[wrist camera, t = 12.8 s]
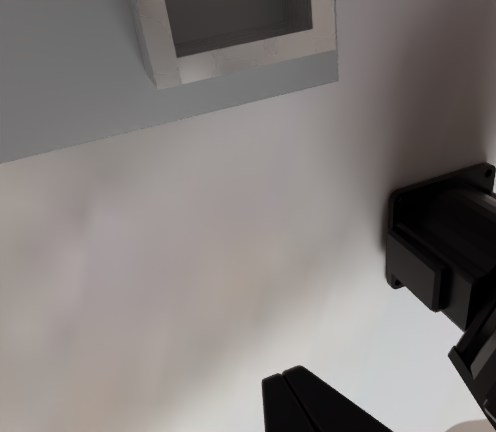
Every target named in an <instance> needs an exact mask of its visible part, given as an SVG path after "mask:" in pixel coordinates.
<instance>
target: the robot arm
mask: <svg viewBox="0 0 496 432" xmlns="http://www.w3.org/2000/svg"><path fill="white" fill-rule="evenodd" d="M495 173H496V168H495V166H493V165H491V164H489V163H487V162H486V163H481V164H478V165H475V166H472V167H468V168H465V169H462V170H459V171H456V172H452V173H449V174H446V175H443V176H440V177H436V178H433V179H430V180H427V181H423V182H420V183H417V184H414V185H411V186H407V187H404V188H401V189H398V190H396V191H394V192H393V193H392V194H391V196H390V198H389V221H388V233H387V264H386V267H387V283H388V284H389V285H390V286H391V287H392V288H393V289H399V288H401V287H404V286H406V287H407V288H408V289H409V290H410V291H411V292H412V293H413V294H414V295H415V296H416V297H417V298H418V299H419V300H420V301H421V302H423V303H424V304H425V305H426V306H427V307H428V308H429V309H430V310H432V311H433V312H439V311H441V312H442V313H444V314H445V315H446V316H447V317H448V318H449V319H450V320H451V321H452V322H453V323H454V324H455V325H457V326H458V327H459V328H460V329H461V330H462V331H463V332H464V334H463V335H462V337H461V339H460V340H459V342H458V343H457V345H456V346H453V347H452V349H451V350H450V352H449V354H448V357H449V359H450V360H451V362H452V363H453V365H454V366H455V368H456V370H457V371H458V373H459V374H460V376H461V378H462V379H463V381H464V382H465V384H466V386H467V387H468V389H469V390H470V392H471V394H472V395H473V397H474V398H475V400H476V401H477V403H478V405H479V406H480V408H481V409H482V411H483V413H484V414H485V416H486V417H487V419H488V420H489V422H490V423H491V424H492V426H493V427H494V429H495V430H496V193H494V192H493V185H494V179H495ZM399 198H401V199H400V200H399ZM398 200H399V201H398ZM262 396H263V409H264V423H265V432H393V431H392V430H390V429H389V428H388V427H386V426H385V425H383V424H382V423H381V422H379V421H378V420H377V419H375V418H374V417H372V416H371V415H370V414H368V413H367V412H365V411H364V410H363V409H361V408H360V407H359V406H357V405H356V404H354V403H353V402H352V401H350V400H349V399H348V398H346V397H345V396H343V395H342V394H341V393H339V392H338V391H336V390H335V389H334V388H332V387H331V386H330V385H328V384H327V383H325V382H324V381H323V380H321V379H320V378H319V377H317V376H316V375H314V374H313V373H312V372H310V371H309V370H308V369H306V368H305V367H303V366H300V365H299V366H295V367H293V368H290V369H288V370H285V371H283V373H282V375H281V374H280V373H277V374H275V375H272V376H269V377H267V378H264V379H263V380H262Z"/></svg>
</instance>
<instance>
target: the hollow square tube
mask: <svg viewBox="0 0 496 432" xmlns="http://www.w3.org/2000/svg"><path fill="white" fill-rule="evenodd" d="M281 3H282V14H283V22H278V23H273V24H268V25H263V26H259V27H254V28H249V29H244V30H239V31H234V32H230V33H225V34H220V35H215V36H210V37H206V38H201V39H196V40H191V41H186V42H182V43H177V44H174V42H173V38H172V33H171V28H170V24H169V19H168V14H167V10H166V5H165V0H128V4H129V8H130V12H131V16H132V20H133V24H134V28H135V32H136V36H137V40H138V44H139V48H140V52H141V56H142V60H143V64H144V68H145V72H146V75H147V76H148V78H149V79H150V80H151V82H152V83H153V84H154V86H155V87H156V89H157V90H159V89H164V88H168V87H173V86H177V85H181V84H186V83H190V82H194V81H199V80H203V79H208V78H212V77H216V76H221V75H225V74H230V73H234V72H238V71H243V70H247V69H251V68H256V67H260V66H265V65H269V64H273V63H278V62H282V61H287V60H291V59H295V58H300V57H304V56H308V55H313V54H317V53H322V52H326V51H330V50H335V49H336V42H335V15H334V0H281Z"/></svg>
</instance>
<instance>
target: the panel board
mask: <svg viewBox="0 0 496 432" xmlns="http://www.w3.org/2000/svg"><path fill="white" fill-rule="evenodd" d="M165 5H166V10H167V14H168V19H169V24H170V28H171V33H172V38H173V42H174V44H177V43H182V42H186V41H191V40H196V39H201V38H206V37H210V36H215V35H220V34H225V33H230V32H234V31H239V30H244V29H249V28H254V27H259V26H263V25H268V24H273V23H278V22H283V14H282V3H281V0H165ZM334 15H335V42H336V49H335V50H330V51H326V52H322V53H317V54H313V55H308V56H304V57H300V58H295V59H291V60H287V61H282V62H278V63H273V64H269V65H265V66H260V67H256V68H251V69H247V70H243V71H238V72H234V73H230V74H225V75H221V76H216V77H212V78H208V79H203V80H199V81H194V82H190V83H186V84H181V85H177V86H173V87H168V88H164V89H159V90H157V89H156V87H155V86H154V84H153V83H152V82H151V80H150V79H149V78H148V76H147V75H146V72H145V68H144V64H143V60H142V56H141V52H140V48H139V44H138V40H137V36H136V32H135V28H134V24H133V20H132V16H131V12H130V8H129V4H128V0H0V164H1V163H5V162H9V161H13V160H17V159H21V158H25V157H29V156H34V155H38V154H42V153H46V152H50V151H54V150H58V149H62V148H66V147H70V146H74V145H78V144H83V143H87V142H91V141H95V140H99V139H103V138H107V137H111V136H115V135H119V134H123V133H127V132H132V131H136V130H140V129H144V128H148V127H152V126H156V125H160V124H164V123H168V122H172V121H176V120H181V119H185V118H189V117H193V116H197V115H201V114H205V113H209V112H213V111H217V110H221V109H225V108H229V107H234V106H238V105H242V104H246V103H250V102H254V101H258V100H262V99H266V98H270V97H274V96H278V95H283V94H287V93H291V92H295V91H299V90H303V89H307V88H311V87H315V86H319V85H323V84H327V83H332V82H336V81H338V53H337V25H336V0H334Z"/></svg>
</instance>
